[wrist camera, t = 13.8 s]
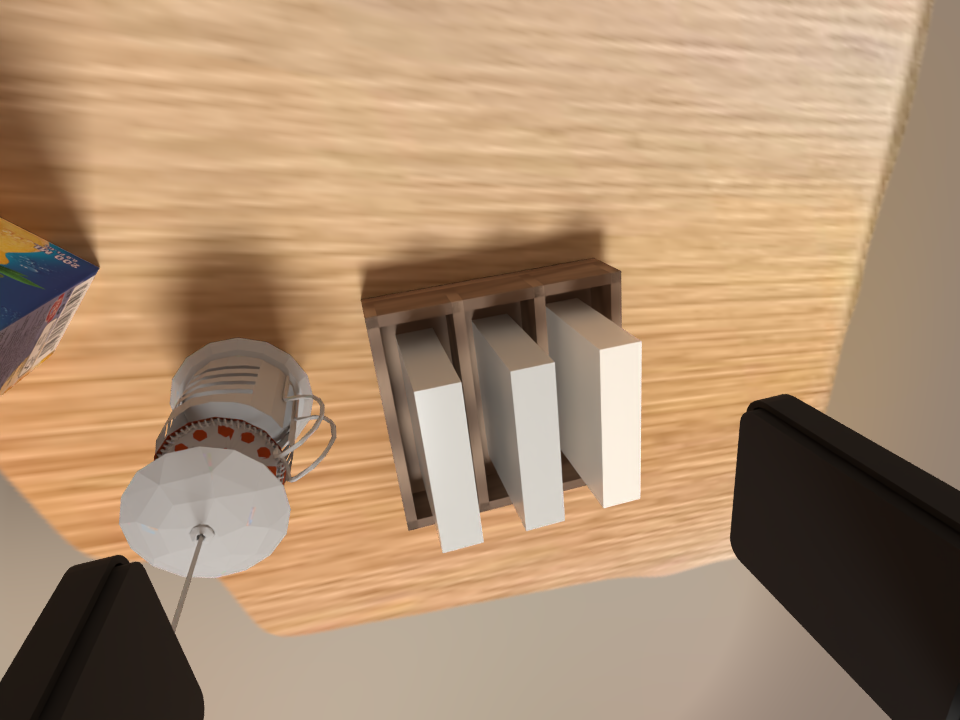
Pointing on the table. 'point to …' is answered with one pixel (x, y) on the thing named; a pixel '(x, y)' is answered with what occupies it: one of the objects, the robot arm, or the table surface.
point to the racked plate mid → (521, 418)
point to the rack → (473, 357)
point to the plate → (597, 398)
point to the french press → (222, 463)
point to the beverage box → (35, 299)
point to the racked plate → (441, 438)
